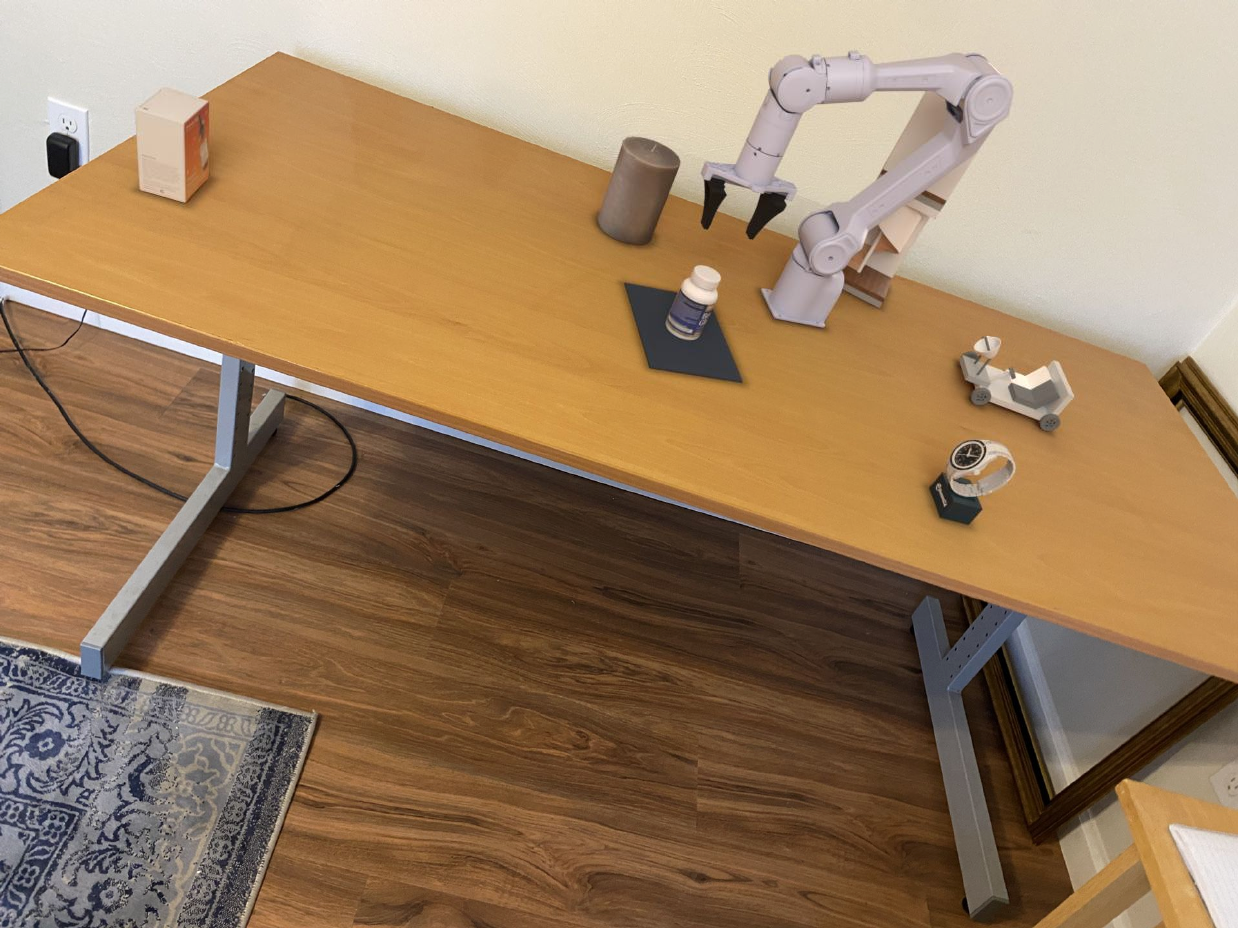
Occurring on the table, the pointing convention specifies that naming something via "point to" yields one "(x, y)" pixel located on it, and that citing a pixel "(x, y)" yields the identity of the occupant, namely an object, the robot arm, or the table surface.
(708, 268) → the pill bottle
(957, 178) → the tall cream cabinet
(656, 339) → the felt mat
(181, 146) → the small box
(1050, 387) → the toy car
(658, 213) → the pillar candle
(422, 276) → the table surface
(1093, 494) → the table surface
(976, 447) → the watch
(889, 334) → the table surface
